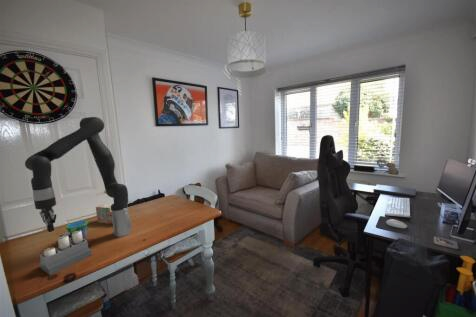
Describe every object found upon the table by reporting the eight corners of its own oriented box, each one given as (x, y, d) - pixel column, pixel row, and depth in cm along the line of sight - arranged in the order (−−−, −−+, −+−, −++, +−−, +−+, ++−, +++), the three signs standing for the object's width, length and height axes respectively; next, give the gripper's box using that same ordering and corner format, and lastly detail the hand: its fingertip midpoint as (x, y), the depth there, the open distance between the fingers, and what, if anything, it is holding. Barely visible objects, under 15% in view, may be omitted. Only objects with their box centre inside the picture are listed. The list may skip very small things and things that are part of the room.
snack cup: (75, 234, 138) (73, 219, 136) (93, 232, 140) (91, 217, 139) (62, 247, 123) (59, 231, 121) (83, 244, 125) (80, 228, 124)
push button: (76, 244, 125) (74, 229, 123) (77, 248, 121) (75, 232, 120) (62, 249, 120) (59, 233, 119) (62, 253, 117) (60, 236, 115)
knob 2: (80, 240, 117) (79, 229, 116) (84, 242, 114) (83, 231, 114) (71, 243, 113) (70, 233, 112) (75, 245, 111) (73, 234, 110)
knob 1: (54, 257, 107) (52, 246, 106) (58, 259, 105) (56, 248, 104) (44, 262, 103) (42, 250, 102) (47, 264, 101) (45, 252, 100)
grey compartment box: (81, 249, 120) (79, 236, 119) (91, 254, 114) (89, 241, 113) (39, 267, 105) (37, 253, 104) (49, 275, 99) (47, 260, 98)
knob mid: (67, 245, 111) (66, 234, 111) (71, 247, 109) (69, 236, 108) (58, 249, 108) (56, 238, 107) (61, 251, 106) (59, 240, 105)
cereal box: (128, 221, 156) (126, 205, 154) (121, 224, 150) (119, 208, 148) (104, 219, 161) (102, 203, 160) (97, 222, 155) (95, 206, 154)
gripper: (60, 196, 100) (66, 230, 103) (48, 193, 107) (54, 225, 110) (39, 202, 94) (46, 237, 97) (28, 197, 101) (35, 231, 103)
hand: (51, 231), depth 103 cm, fingers closed
